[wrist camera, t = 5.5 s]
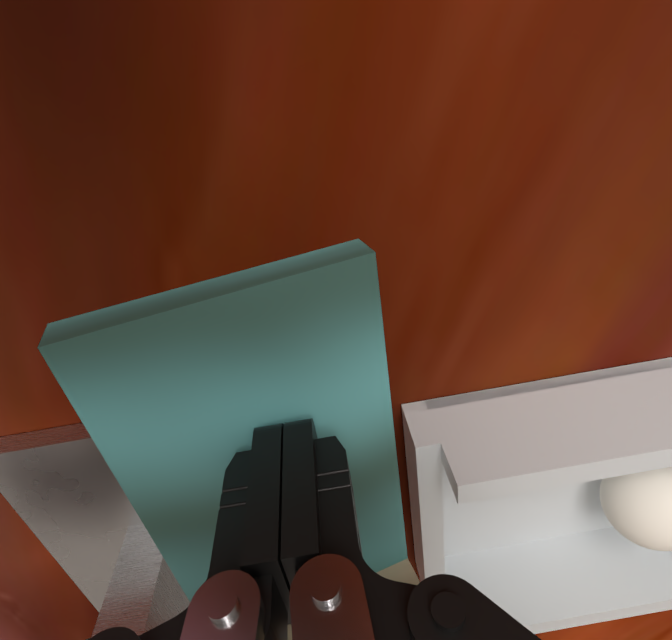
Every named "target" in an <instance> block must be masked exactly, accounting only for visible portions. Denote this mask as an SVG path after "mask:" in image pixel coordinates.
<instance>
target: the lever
mask: <svg viewBox="0 0 672 640" xmlns="http://www.w3.org/2000/svg"><path fill="white" fill-rule="evenodd" d="M38 349H39V351H40V353H41V354H42V356H43V358H44V359H45V361H46V363H47V364H48V366H49V368H50V369H51V371H52V373H53V374H54V376H55V378H56V379H57V381H58V383H59V384H60V386H61V388H62V389H63V391H64V393H65V394H66V396H67V398H68V399H69V401H70V403H71V404H72V406H73V408H74V409H75V411H76V413H77V414H78V416H79V418H80V419H81V421H82V423H83V424H84V426H85V428H86V429H87V431H88V433H89V434H90V436H91V438H92V439H93V441H94V443H95V444H96V446H97V448H98V449H99V451H100V453H101V454H102V456H103V458H104V459H105V461H106V463H107V464H108V466H109V468H110V469H111V471H112V473H113V474H114V476H115V478H116V479H117V481H118V483H119V484H120V486H121V488H122V489H123V491H124V493H125V494H126V496H127V498H128V499H129V501H130V503H131V504H132V506H133V508H134V509H135V511H136V513H137V514H138V516H139V518H140V519H141V521H142V523H143V524H144V526H145V528H146V529H147V531H148V533H149V534H150V536H151V538H152V539H153V541H154V543H155V544H156V546H157V548H158V549H159V551H160V553H161V554H162V556H163V558H164V559H165V561H166V563H167V564H168V566H169V568H170V569H171V571H172V573H173V574H174V576H175V578H176V579H177V581H178V583H179V584H180V586H181V588H182V590H183V591H184V593H185V595H186V596H187V598H188V600H189V601H190V602H191V600H192V598H193V596H194V594H195V593H196V591H197V590H198V589H199V588H200V586H201V585H202V584H203V583H204V582H206V579H207V577H208V572H209V567H210V561H211V555H212V549H213V542H214V536H215V530H216V524H217V518H218V511H219V510H220V506H219V505H220V499H221V494H222V487H223V480H224V474H225V470H226V468H227V467H228V465H229V463H230V462H231V460H232V458H233V457H234V455H235V453H236V452H242V451H248V450H251V448H252V438H253V431H254V428H258V427H264V426H270V425H276V424H282V423H283V424H284V423H287V422H293V421H298V420H304V419H310V418H312V419H313V421H314V425H315V429H316V434H317V438H324V437H330V436H336V437H337V439H338V440H339V441H340V443H341V444H342V446H343V447H344V448H345V450H346V454H347V459H348V465H349V470H350V475H351V480H352V486H353V491H354V498H355V506H356V513H357V520H358V527H359V534H360V541H361V548H362V555H363V559H364V560H365V562H366V563H367V564H368V566H369V567H370V568H371V569H372V570H373V571H374V572H376V573H377V574H379V575H380V576H382V577H385V578H387V579H390V580H394V581H398V582H404V583H409V584H414V585H418V584H419V583H420V581H419V579H418V577H417V575H416V573H415V571H414V569H413V567H412V565H411V564H410V562H409V560H408V556H407V547H406V537H405V528H404V518H403V509H402V500H401V490H400V481H399V471H398V462H397V452H396V443H395V433H394V424H393V414H392V405H391V395H390V386H389V376H388V367H387V357H386V348H385V338H384V329H383V320H382V310H381V301H380V291H379V282H378V272H377V263H376V253H375V251H373V250H372V249H371V248H370V247H368V246H367V245H366V244H365V243H363V242H362V241H361V240H360V239H355V240H352V241H348V242H344V243H341V244H337V245H333V246H330V247H326V248H322V249H319V250H315V251H311V252H308V253H304V254H300V255H297V256H293V257H289V258H286V259H282V260H278V261H275V262H271V263H268V264H264V265H260V266H257V267H253V268H249V269H246V270H242V271H238V272H235V273H231V274H227V275H224V276H220V277H216V278H213V279H209V280H205V281H202V282H198V283H194V284H191V285H187V286H183V287H180V288H176V289H172V290H169V291H165V292H161V293H158V294H154V295H151V296H147V297H143V298H140V299H136V300H132V301H129V302H125V303H121V304H118V305H114V306H110V307H107V308H103V309H99V310H96V311H92V312H88V313H85V314H81V315H77V316H74V317H70V318H66V319H63V320H59V321H55V322H52V323H48V325H47V327H46V329H45V332H44V334H43V336H42V338H41V341H40V343H39V345H38ZM89 639H90V638H88V639H86V640H89ZM288 640H292V628H291V624H290V625H288Z"/></svg>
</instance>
